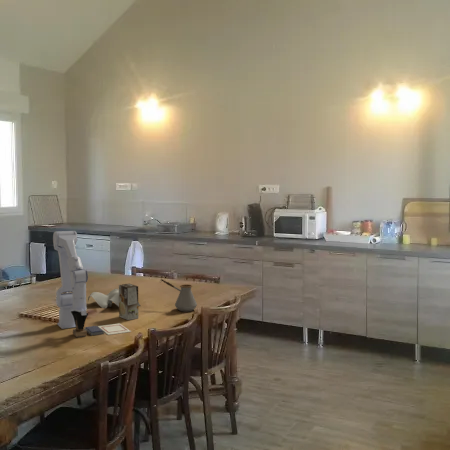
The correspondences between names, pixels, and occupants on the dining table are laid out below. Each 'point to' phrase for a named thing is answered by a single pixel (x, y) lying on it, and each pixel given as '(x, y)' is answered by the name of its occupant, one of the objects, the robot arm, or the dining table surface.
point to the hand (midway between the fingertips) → (79, 328)
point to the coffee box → (128, 301)
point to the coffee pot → (184, 298)
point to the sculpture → (107, 298)
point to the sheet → (114, 329)
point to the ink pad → (94, 330)
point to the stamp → (79, 332)
